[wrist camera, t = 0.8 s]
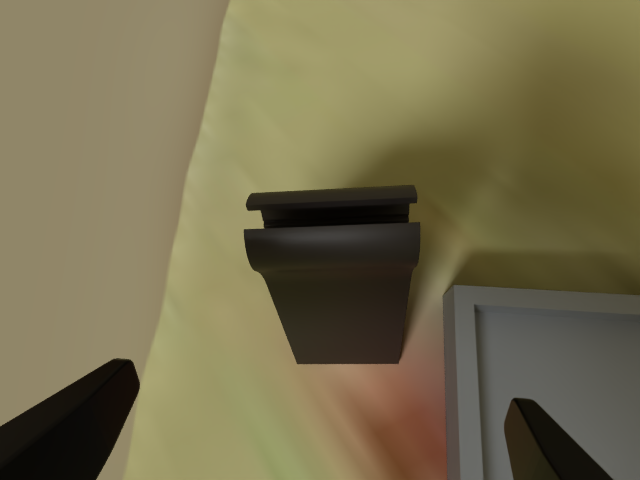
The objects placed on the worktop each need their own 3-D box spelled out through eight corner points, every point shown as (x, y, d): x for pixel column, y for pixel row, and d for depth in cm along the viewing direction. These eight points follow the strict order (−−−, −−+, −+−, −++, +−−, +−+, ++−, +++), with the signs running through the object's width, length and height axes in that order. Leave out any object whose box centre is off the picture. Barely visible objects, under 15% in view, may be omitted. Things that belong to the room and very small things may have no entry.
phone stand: (397, 364, 22) (432, 351, 11) (297, 364, 23) (232, 350, 11) (389, 223, 25) (409, 100, 14) (301, 226, 26) (252, 110, 15)
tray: (849, 699, 16) (956, 770, 13) (451, 630, 18) (467, 677, 15) (738, 314, 21) (795, 304, 18) (442, 296, 23) (453, 284, 20)
